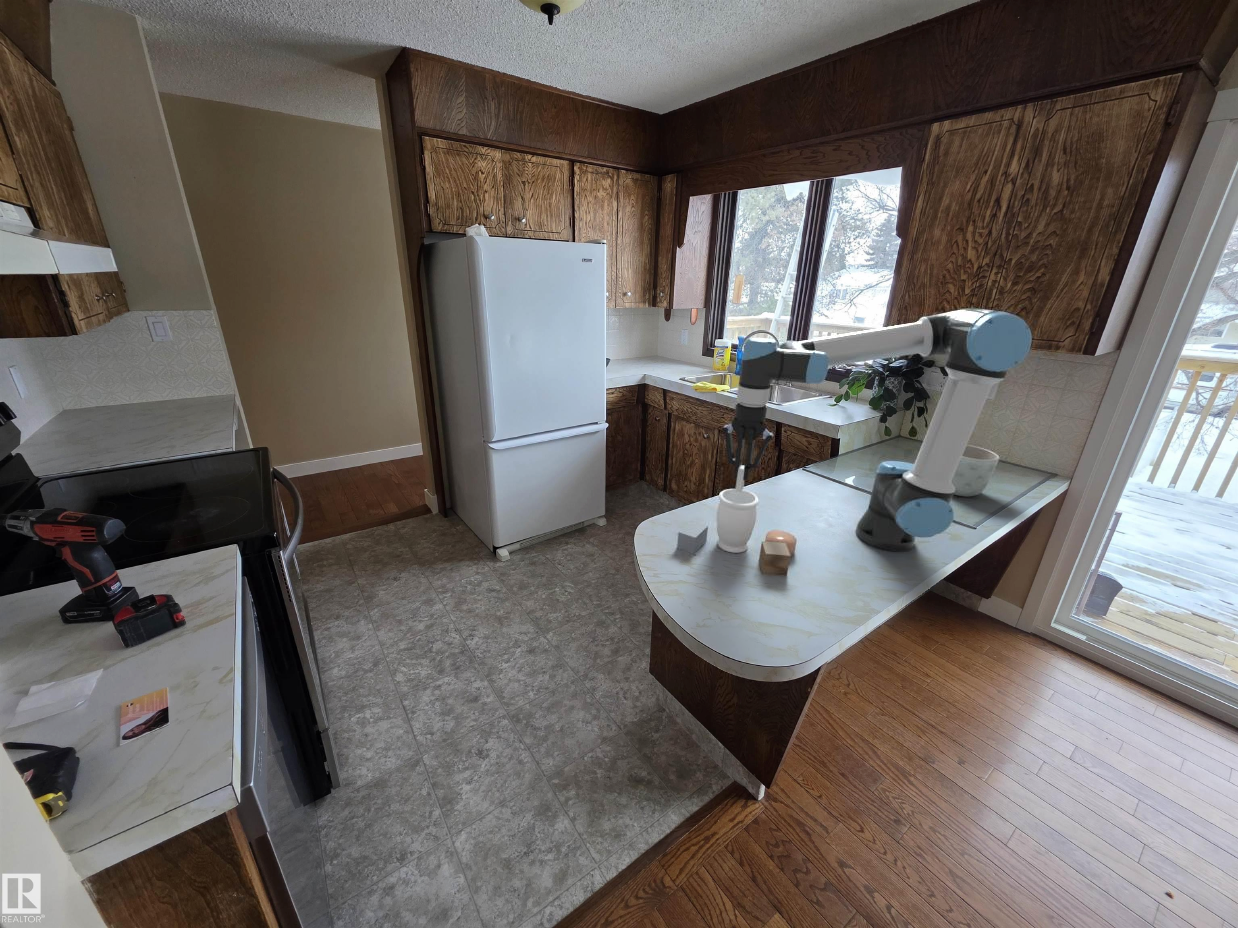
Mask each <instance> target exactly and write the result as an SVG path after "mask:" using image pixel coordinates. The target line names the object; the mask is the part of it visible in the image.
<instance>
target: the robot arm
mask: <svg viewBox="0 0 1238 928" xmlns="http://www.w3.org/2000/svg"><path fill="white" fill-rule="evenodd" d="M1032 340H1033V339H1032V332H1031V328H1030V327H1029V325H1028V324H1027V322H1026V321H1025V320H1024V319H1023V318H1021V317H1019V316H1018V315H1015V314H1012V313H1010V312H1007V311H1006V312H1005V311H1003V310H1001V311H999V310H997V311H996V310H992V309H983V308H979V307H978V308H977V307H969V308H962V309H957V310H953V311H947V312H944V313H942V312H941V313H938V314H933V315H929V316H922V317H920V318H919V319H918V321H916V322H911V323H910V322H909V323H905V324H904V323H903V324H899V325H898V324H897V325H894V326H887V327H880V328H875V329H868V330H863V331H857V332H855V331H854V332H850V333H849V332H848V333H844V334H838V335H830V336H826V337H825V336H824V337H818V338H812V339H807V340H801V341H800V340H799V341H796V340H786V341H784V342H782V343H780V344H779V345H778V342H777V340H775V339H773V338H763V337H751V338H748V339H747V340H746V341H745V342H744V345H743V350H742V351H743V352H742V356H741V363H740V370H739V378H738V380H739V382H738V385H737V386H738V387H737V393H736V402H737V403H735V409H734V416H733V420H732V421H731V423H730V424H725V425H724V426H723V427H722V428H721V431H722V433H723V435H724V439H725V448H726V458H727V463H728V464H730V465H733V466H734V468H733V469H734V470H733V475H732V476H733V478H734V479H736V483H735V488H734V489H735V491H736V492H741V491H742V490H744V487H745V481H748V480H749V478H750V473H751V469H757V467H758V466H759V464H760V462H761V460H762V457H763V454H764V453H765V450H766V448H767V447H768V443H770V442H771V440H772V439H773V438H774V436H775V434H774V433H773V432H770V430H768V429H767V425H766V416H767V411H768V406H767V404H768V402H769V398H770V391H771V384H772V382H773V381H774V382H785V383H786V382H787V383H796V384H798V383H799V384H806V385H809V384H813V385H814V384H816V385H818V384H822V383H823V382H824V381H825V379H826V377H827V375H828V371H829V370H828V369H829V367H832V366H833V367H835V366H841V365H848V364H853V363H855V364H857V363H862V362H868V361H875V360H876V361H877V360H882V359H889V358H895V357H903V356H908V355H917V354H919V355H921V356H922V357H923V358H925V357H930V356H948V357H947V360H946V363H945V365H944V369H945V371H946V372H947V374H948V378H947V381H946V383H945V385H944V387H943V391H942V393H941V396H940V398H939V400H938V403H937V406H936V407H935V411H934V413H933V416H932V419H931V420H930V424H929V426H928V428H927V431H926V434H925V436H924V439H923V441H922V444H921V446H920V449H919V452H918V454H917V457H916V458H915V459H916V460H915V461H914V463H910V462H906V461H898V460H897V461H896V460H887V461H886V460H885V461H882V462H881V463H880V464H879V465H878V467H877V471H876V472H875V479H874V483H873V487H872V490H871V494H870V495H871V496H870V498H869V504H868V508H867V509H866V511H865V512H864V514H863V515H862V517H861V518H860V520H858V522H857V524H856V529H855V534H856V536H857V537H858V538H859V539H860V540H861V541H862V542H864V543H866V544H867V545H870V546H872V547H874V548H877V549H880V550H885V551H889V552H907V551H910V550H912V549H913V547H914V546H915V545H914V544H915V541H916V538H926V539H928V538H932V537H935V536H936V535H940V534H943V533H944V532H945V531H946V530H948V529H949V528H950V526H951V525H952V523H953V520H954V516H955V514H954V513H955V512H954V509H953V507H952V505H951V504H950V503H951V501H952V499H953V496H954V492H955V487H954V486H953V484H952V482H951V480H952V478H953V476H954V473H955V471H956V469H957V466H958V464H959V462H960V459H961V457H962V455H963V452H964V450H965V448H966V445H968V443H969V440H970V438H971V435H972V433H973V431H974V429H975V427H976V424H977V422H978V420H979V418H980V415H981V412H982V410H983V407H984V406H985V403H986V401H987V399H988V396H989V394H990V392H991V390H992V387H993V386H994V385H995V384H997V383H1000V382H1002V381H1004V380H1005V378H1006V375H1007V373H1008V371H1009V369H1012V368H1014V367H1015V366H1016V365H1018V364H1020V363H1021V362H1022V361H1023V360H1024V359H1025V358H1026V356H1028V353H1029V352H1030V349H1031V345H1032ZM733 431H734V433H735V435H736V436H737V441H736V442H737V445H736V452H735V449H734V441H733V440H734V439H733ZM762 434H763V436H762V440H763V441H762V442H761V444H760V446H759V449H758V451H757V453H756V455H755V458H754V460H753V456H754V448H755V442H756V440H757V439H758V438H759V437H760V436H761V435H762ZM745 440H746V441H747V448H746V453H745V454H746V455H745V461H744V465H742V463H743V461H742V460H743V454H744V447H745V446H744V445H745Z"/></svg>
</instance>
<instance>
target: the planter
mask: <svg viewBox="0 0 1238 928" xmlns="http://www.w3.org/2000/svg"><path fill="white" fill-rule="evenodd" d="M999 461H1000V456H999V455H998V454H997V453H995V452H993V451H991V450H989V449H986V448H983V447H979V446H975V445H970V444H967V445H966V448H965V450H964V452H963V455H962V457H961V459H960V462H959V464H958V466H957V469H956V471H955V473H954V476H953V478H952V480H951V482H952V484H953V486H954V487H955V492H954V494H953V496H954V495H955V496H958V497H975V496H978V495H980V494H982V492H984V491H985V490H986V488H987V487H988V486H989V483H990V482H991V478H992V476H993V474H994V472H995V469H996V467H997V465H998V464H999Z"/></svg>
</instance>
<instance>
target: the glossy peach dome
mask: <svg viewBox="0 0 1238 928" xmlns="http://www.w3.org/2000/svg"><path fill="white" fill-rule="evenodd" d="M764 541H765V542H777V543H786V545H787V548H788V550H789V553H790V555H791V557H790V558H792V557H793V556H794V555H795V551H796V546H797V542H798V541H797V538H796V536H795V535H793V534H791V533H789V532H787V531H784V530H771V531H770V530H769V531H768V532H767V533H766V534H765V539H764Z"/></svg>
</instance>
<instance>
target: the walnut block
mask: <svg viewBox="0 0 1238 928" xmlns="http://www.w3.org/2000/svg"><path fill="white" fill-rule="evenodd" d="M759 550H760V552H759V558H758V563H759V566H760V567H759V568H760V570H761V573H762V575H770V576H772V575H773V576H780V577H781V576H783V577H787V576H788V571H789V568H790V567H789V566H790V561H791V558H792V557H791V555H790V553H789V550H788V548H787V545H786V543H777V542H765V540H764V541H762V540H761V546H760V549H759Z"/></svg>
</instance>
